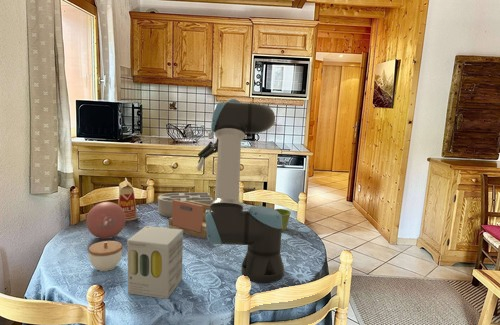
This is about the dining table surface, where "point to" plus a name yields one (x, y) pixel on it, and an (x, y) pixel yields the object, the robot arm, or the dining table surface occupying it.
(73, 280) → the dining table surface
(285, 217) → the plant pot
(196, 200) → the grey compartment organizer
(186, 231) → the tray
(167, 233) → the supplement box
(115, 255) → the lidded jar
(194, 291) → the dining table surface
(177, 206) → the panel
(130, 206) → the milk carton
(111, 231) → the balloon
